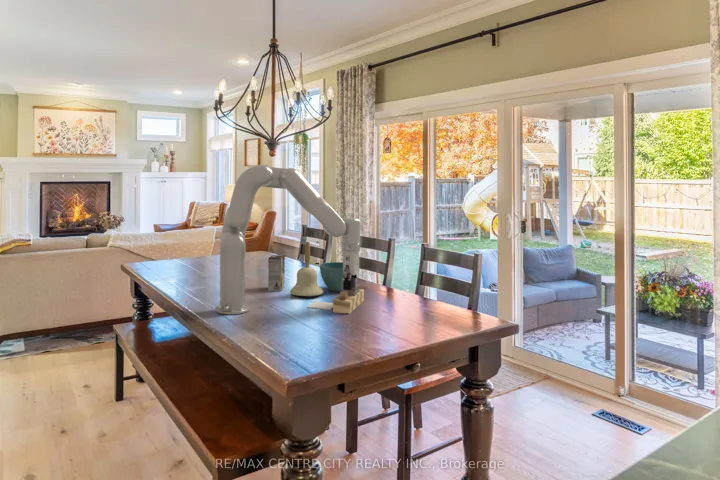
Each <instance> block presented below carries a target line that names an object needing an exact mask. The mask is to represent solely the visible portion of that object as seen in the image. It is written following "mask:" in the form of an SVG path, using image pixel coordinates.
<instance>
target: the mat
mask: <svg viewBox="0 0 720 480" xmlns="http://www.w3.org/2000/svg"><path fill="white" fill-rule="evenodd" d="M306 308H307V309H315V310H326V311H328V310H329V311H331V310H333V302H325V301H323V302H322V301H314V302H313V303H311V304H310V305H308V306H307V307H306Z"/></svg>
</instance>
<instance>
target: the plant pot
mask: <svg viewBox="0 0 720 480" xmlns="http://www.w3.org/2000/svg"><path fill="white" fill-rule="evenodd" d="M319 271H320V275H321V278H322V281H323V282H324V283H323V284H324V285H325V286H326V288H328V290H329V291H331V292H339V293H340V292H341V289H342V278H343V277H344V274H343V261H340V262H338V261H337V262H336V261H335V262H334V261H333V262H332V261H331V262H324V263H320V264H319Z"/></svg>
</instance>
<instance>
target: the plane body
mask: <svg viewBox="0 0 720 480" xmlns="http://www.w3.org/2000/svg"><path fill="white" fill-rule="evenodd" d="M359 287H360V283H358V293H357V295H356V296H348V295H347V292H346V291H341V292H339V295H338V296H337V297H335V298H334V299H332V301H333V302H332V303H333V308H332V313H335V314H336V313H338V314H346V313H348V315H350V314H351V313H352V312H353V311H354V310H356V308H357V307H358V306H360V305H361V304H362V303H363V302H364V301H365V300H364V299H365V289H360V288H359Z"/></svg>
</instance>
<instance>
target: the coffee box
mask: <svg viewBox="0 0 720 480" xmlns="http://www.w3.org/2000/svg"><path fill="white" fill-rule="evenodd" d="M285 259H286V257H285V255H284V254H283V255H281V254H279V255H277V254H275V255H274V254H272V255H270V256H269V257H268V259H267V260H268V262H267V266H268V267H267V271H268V272H267V273H268V275H267V276H268V277H267V282H268V286H267V291H268V292H282V291H283V290H284V288H285V267H286V266H285V265H286V264H285Z"/></svg>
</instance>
